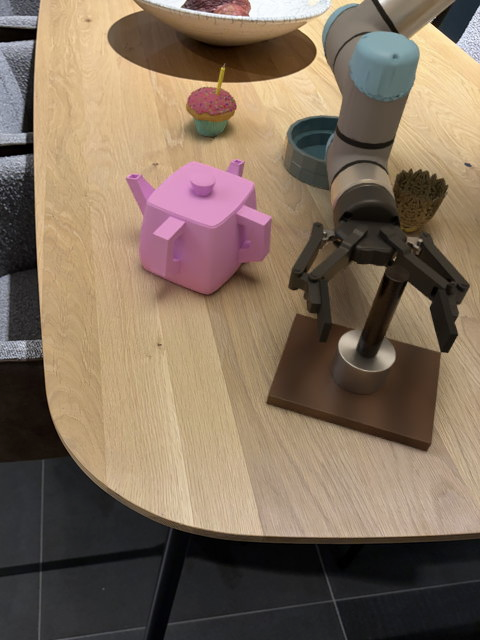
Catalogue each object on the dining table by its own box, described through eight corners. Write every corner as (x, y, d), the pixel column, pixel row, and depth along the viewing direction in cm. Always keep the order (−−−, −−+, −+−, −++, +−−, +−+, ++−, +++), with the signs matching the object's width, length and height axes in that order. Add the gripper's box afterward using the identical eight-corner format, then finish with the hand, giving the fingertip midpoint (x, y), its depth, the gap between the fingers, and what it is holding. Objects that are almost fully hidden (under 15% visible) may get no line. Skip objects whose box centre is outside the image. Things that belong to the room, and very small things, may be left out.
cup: (384, 209, 94) (400, 162, 88) (432, 221, 92) (451, 175, 86) (375, 236, 89) (391, 188, 83) (425, 249, 88) (445, 202, 82)
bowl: (380, 154, 104) (388, 127, 100) (366, 202, 95) (375, 173, 91) (293, 135, 107) (298, 107, 103) (272, 180, 97) (276, 151, 94)
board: (436, 360, 74) (441, 352, 73) (426, 451, 65) (431, 443, 64) (294, 321, 77) (296, 312, 76) (266, 403, 68) (268, 395, 67)
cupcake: (242, 129, 107) (250, 59, 98) (216, 148, 103) (222, 76, 93) (202, 113, 110) (206, 44, 101) (175, 131, 105) (177, 60, 96)
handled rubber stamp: (389, 361, 71) (433, 261, 60) (381, 401, 67) (427, 303, 56) (335, 346, 72) (369, 245, 61) (325, 384, 68) (359, 285, 57)
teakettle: (153, 306, 77) (153, 226, 68) (125, 227, 87) (121, 148, 78) (277, 286, 81) (293, 207, 71) (235, 212, 91) (245, 135, 82)
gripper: (449, 243, 77) (491, 373, 63) (262, 226, 77) (262, 353, 63) (473, 191, 71) (525, 322, 57) (270, 174, 71) (272, 300, 57)
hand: (387, 338), depth 60 cm, fingers open, 12 cm apart
